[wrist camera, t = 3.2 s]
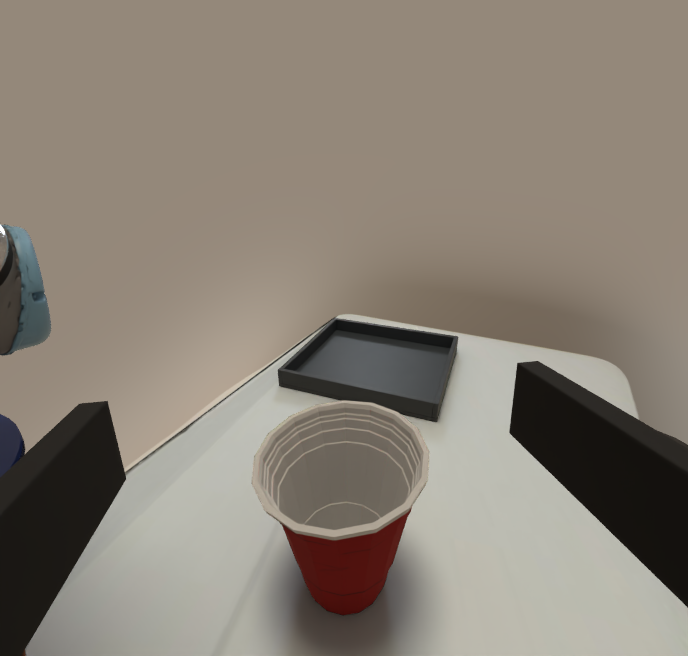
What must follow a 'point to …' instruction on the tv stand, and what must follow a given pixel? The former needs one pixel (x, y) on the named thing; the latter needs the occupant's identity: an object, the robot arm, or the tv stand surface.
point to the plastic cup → (342, 494)
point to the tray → (375, 366)
